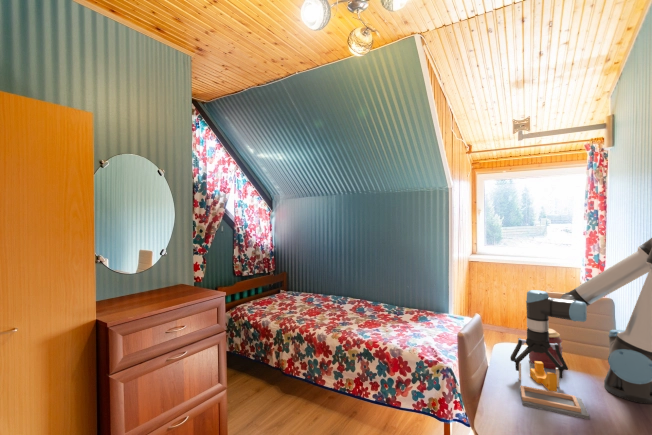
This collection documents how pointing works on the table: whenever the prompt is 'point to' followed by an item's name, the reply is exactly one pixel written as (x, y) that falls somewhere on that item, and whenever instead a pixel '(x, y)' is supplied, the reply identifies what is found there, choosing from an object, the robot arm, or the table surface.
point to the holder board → (553, 402)
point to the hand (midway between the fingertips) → (538, 382)
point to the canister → (543, 357)
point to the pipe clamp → (544, 376)
